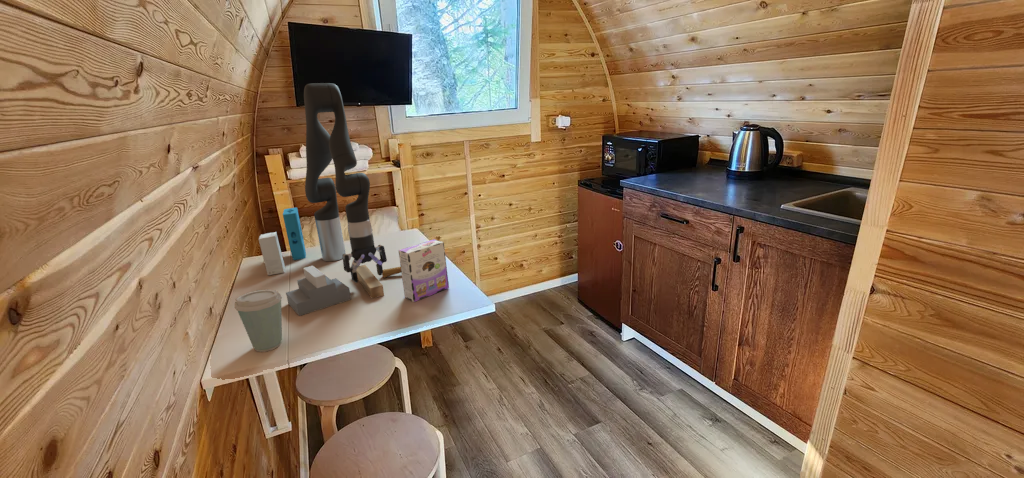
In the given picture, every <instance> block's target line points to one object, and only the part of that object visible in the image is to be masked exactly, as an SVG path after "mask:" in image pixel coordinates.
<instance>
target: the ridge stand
mask: <svg viewBox="0 0 1024 478" xmlns="http://www.w3.org/2000/svg"><path fill="white" fill-rule="evenodd" d="M302 269H303V274H304V278H300V279H297V280H296V282H297V285H298V288H297V289H294V290H290V291H286V292H285V295H286V299H287V304H288V305H289V306H290V308H292V310H293V311H294V312H295V313H296V314H297V316H299V317H300V316H303V315H307V314H310V313H312V312H315V311H319V310H321V309H325V308H328V307H331V306H335V305H337V304H340V303H344V302H347V301H351V300H352V297H351V295H352V294H351V291H350V287H348V286H347V285H346V284H344V283H343V282H342V281H341V280H339V279H338V278H332V279H331V278H330V277H328V276H327V275H326V274H325V273H324V272H322V271H321V270H319V269H318V268H317V267H315V266H314V265H310V266H306V267H303V268H302Z"/></svg>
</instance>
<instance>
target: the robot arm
mask: <svg viewBox="0 0 1024 478" xmlns="http://www.w3.org/2000/svg"><path fill="white" fill-rule="evenodd" d="M303 100H304V101H303V102H304V112H305V113H304V114H305V123H306V126H305V128H306V129H305V159H306V171H305V172H306V173H305V183H304V192H305V197H306V199H307V201H308V202H309V203H311V204H317V203H318V204H319V203H324V202H326V203H325V205H324V206H323V207H321V208H319V209H317V210H315V212H314V213H313V215H314V221H315V226H316V231H317V237H318V242H319V246H320V252H321V257H322V261H324V262H334V261H339V260H342V263H343V269H344V270H343V271H344V272H346V273H350V276H351V280H352V281H353V282H354V283H356V284H357V283H359V280H358V277H357V272H356V270H357V268H358V267H359V266H361V264H363V265H364V264H365V263H369V262H371V261H374V262H375V266H376V271H377V272H376V273H377V275H378V276H383V275H382V273H383V270H384V269H383V264H384V263H386V262H387V261H388V258H387V255H386V250H385V246H384V245H381V244H378V245H377V246H375V240H374V234H373V228H372V222H371V220H370V214H369V197H370V188H371V187H370V186H371V184H370V183H371V182H370V179H369V176H368V175H366V173H364V172H356V173H349V174H345V173H346V171H350V170H351V169H354V168H355V167H356V166H357V164H358V162H357V161H358V160H357V158H356V155H355V152H354V148H353V145H352V142H351V138H350V134H349V128H348V123H347V117H346V111H345V107H344V106H345V105H344V101H343V96H342V94H341V91H340V88H339V86H338V85H336V83H330V82H325V83H324V82H320V83H318V82H317V83H316V82H315V83H306V85H305V86H304V89H303ZM319 113H333V114H334V124H333V128H332V130H331V134H330V133H329V132H328V130H326V128H325V127H324V125H323V124H322V123H321V122H320V121H319V119H318V115H319ZM331 162H333V165H334V171H335V181H334V180H333V179H332V178H331V177H323V178H320V177H321V175H322V173H323V172H324V171H325V170H326V168H328V166H329V165H330V164H331ZM337 194H338V195H339V196H340V197H343V198H348V197H354V196H357V198H356V199H355V200H354V201H352V202H350V203H347V204H346V205H345V215H346V221H347V231H348V232H347V233H348V236H349V242H350V249H351V253H347V252H346V248H345V243H344V242H345V241H344V237H343V231H342V230H343V229H342V224H341V218H340V214H339V205H338V195H337ZM376 252H378V254H379V258H378V257H377V256H375V255H376ZM351 258H353V260H352V262H351V265H350V260H351Z"/></svg>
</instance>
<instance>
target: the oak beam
mask: <svg viewBox="0 0 1024 478" xmlns="http://www.w3.org/2000/svg"><path fill="white" fill-rule="evenodd" d="M356 272H357V277H358V283H360V285H361V286H362V287H363V289H364V290H365V291H366V293H367V294H368V295H369V296H370V298H371V299H376V298H379V297H383V296H385V292H384V285H383V283H381V281H380V280H379V278H377V276H376V275H375V274H374V273H373V272H372V271H371V270H370V269H369V268H368V266H367V264H363V265H361V264H360V265H359V267H358V268H357V270H356Z"/></svg>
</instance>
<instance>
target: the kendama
mask: <svg viewBox="0 0 1024 478" xmlns="http://www.w3.org/2000/svg"><path fill="white" fill-rule="evenodd" d="M397 274H402V272H401V266H397V267H391V268H386V269H383V273H382V275H381V276H382V278H388V277H391V276H394V275H397Z"/></svg>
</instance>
